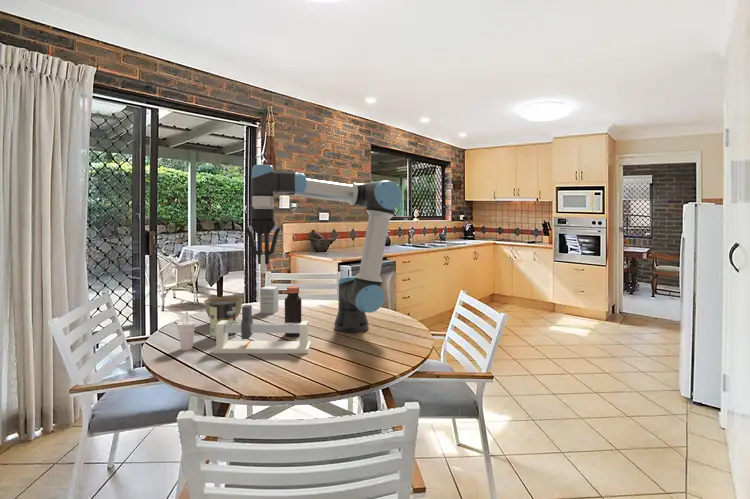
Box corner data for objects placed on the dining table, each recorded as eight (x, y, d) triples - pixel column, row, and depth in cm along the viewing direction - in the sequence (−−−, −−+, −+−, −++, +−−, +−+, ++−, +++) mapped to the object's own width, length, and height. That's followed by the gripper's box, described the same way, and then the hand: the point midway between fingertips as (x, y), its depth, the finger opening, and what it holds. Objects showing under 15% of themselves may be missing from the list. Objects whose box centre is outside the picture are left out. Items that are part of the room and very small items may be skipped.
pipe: (303, 331, 160) (303, 322, 160) (302, 333, 157) (302, 324, 157) (224, 330, 159) (224, 322, 159) (222, 333, 156) (222, 324, 156)
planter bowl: (235, 328, 186) (235, 303, 186) (198, 327, 187) (198, 303, 186) (247, 319, 203) (247, 296, 202) (213, 318, 203) (213, 296, 202)
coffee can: (241, 333, 179) (240, 300, 178) (228, 340, 169) (227, 305, 168) (219, 331, 181) (218, 298, 180) (204, 338, 171) (204, 303, 170)
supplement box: (265, 310, 223) (264, 285, 222) (278, 310, 222) (278, 286, 221) (259, 313, 215) (259, 288, 214) (274, 313, 215) (273, 288, 214)
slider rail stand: (311, 345, 164) (311, 319, 163) (307, 353, 154) (307, 326, 154) (221, 344, 163) (221, 318, 162) (212, 353, 153) (211, 325, 152)
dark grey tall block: (252, 334, 161) (252, 304, 161) (248, 339, 155) (247, 308, 154) (246, 334, 161) (245, 304, 160) (241, 339, 155) (241, 308, 154)
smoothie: (184, 352, 153) (183, 314, 152) (173, 349, 157) (172, 311, 156) (199, 348, 159) (199, 310, 158) (189, 345, 162) (188, 308, 161)
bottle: (281, 334, 178) (281, 287, 176) (294, 331, 183) (294, 285, 181) (291, 338, 173) (291, 289, 172) (304, 334, 178) (304, 287, 176)
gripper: (283, 208, 159) (283, 271, 161) (247, 208, 158) (248, 271, 160) (279, 208, 151) (279, 274, 153) (241, 208, 151) (242, 274, 153)
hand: (263, 273), depth 157 cm, fingers closed
